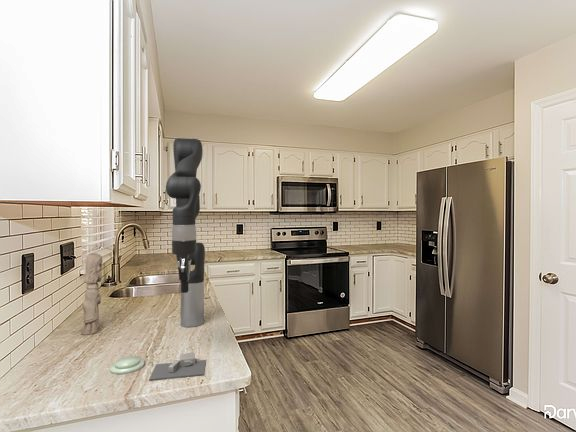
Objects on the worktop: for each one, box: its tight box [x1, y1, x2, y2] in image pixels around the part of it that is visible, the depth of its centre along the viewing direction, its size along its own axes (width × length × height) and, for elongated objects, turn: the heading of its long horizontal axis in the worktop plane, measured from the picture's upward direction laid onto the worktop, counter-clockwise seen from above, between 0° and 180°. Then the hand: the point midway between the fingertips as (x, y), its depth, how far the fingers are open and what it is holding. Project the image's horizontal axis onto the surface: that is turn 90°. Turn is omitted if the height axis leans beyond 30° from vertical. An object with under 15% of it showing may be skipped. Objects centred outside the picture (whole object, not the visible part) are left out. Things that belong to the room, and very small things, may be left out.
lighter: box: [169, 352, 196, 373], centre depth 92 cm, size 7×2×8 cm
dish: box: [109, 355, 145, 375], centre depth 92 cm, size 9×9×2 cm
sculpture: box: [80, 252, 103, 336], centre depth 122 cm, size 7×7×30 cm
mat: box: [148, 359, 206, 382], centre depth 90 cm, size 9×14×1 cm, turn 102°
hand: (184, 292), depth 103 cm, fingers closed
